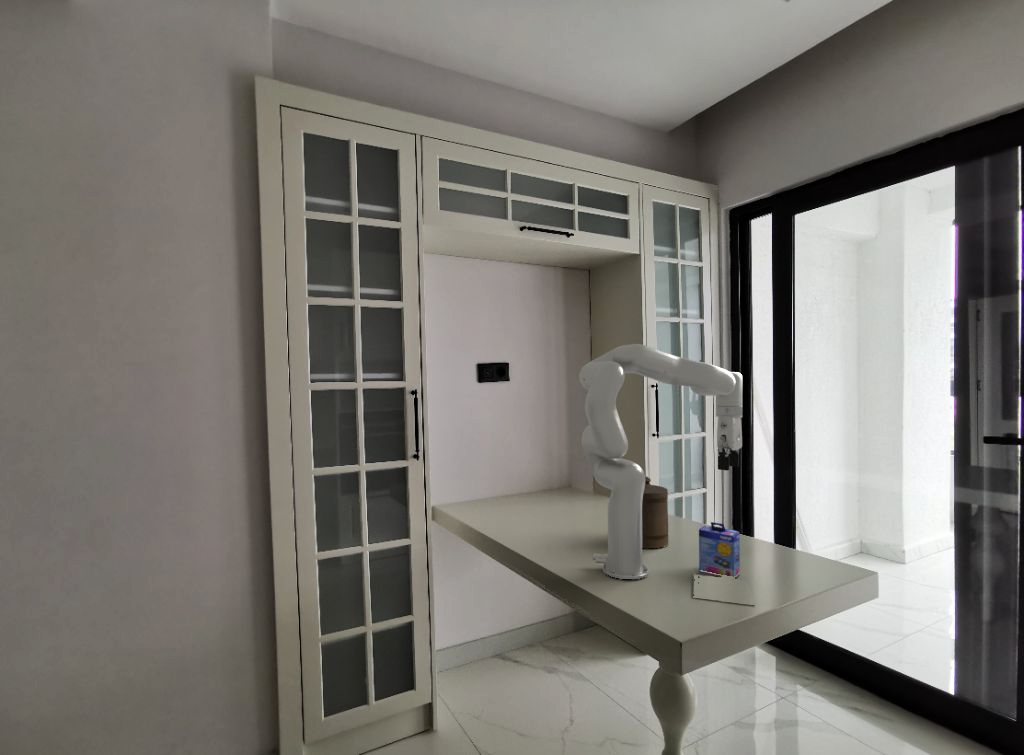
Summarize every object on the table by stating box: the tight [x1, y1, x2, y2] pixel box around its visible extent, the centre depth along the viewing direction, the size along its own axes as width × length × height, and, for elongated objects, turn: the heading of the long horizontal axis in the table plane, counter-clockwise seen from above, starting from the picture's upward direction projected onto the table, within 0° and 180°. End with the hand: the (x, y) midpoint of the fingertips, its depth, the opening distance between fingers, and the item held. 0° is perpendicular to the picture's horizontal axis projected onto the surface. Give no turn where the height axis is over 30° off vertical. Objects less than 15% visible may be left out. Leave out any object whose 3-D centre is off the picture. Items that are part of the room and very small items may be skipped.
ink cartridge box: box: [698, 521, 741, 577], centre depth 143 cm, size 10×6×14 cm, turn 51°
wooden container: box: [642, 475, 669, 549], centre depth 171 cm, size 15×15×22 cm
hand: (728, 468), depth 156 cm, fingers open, 9 cm apart
